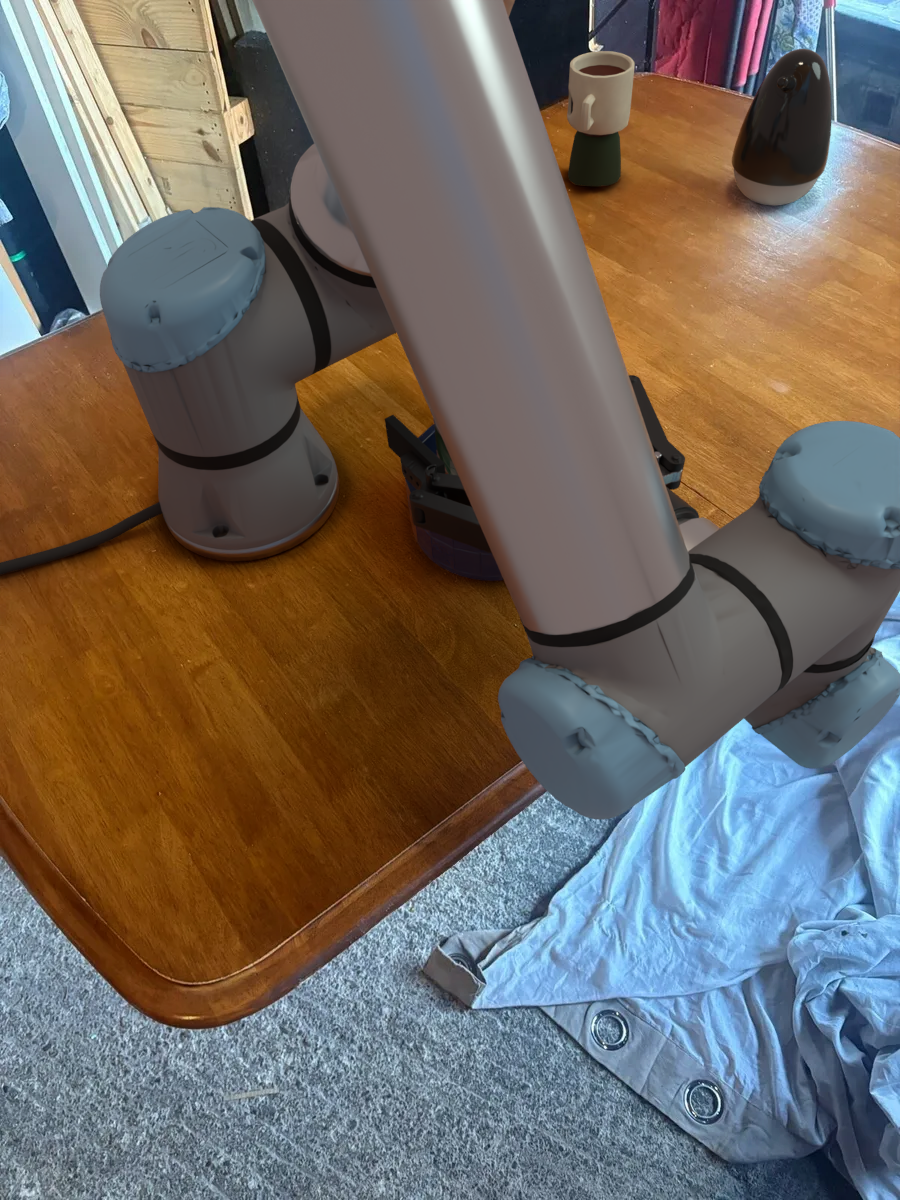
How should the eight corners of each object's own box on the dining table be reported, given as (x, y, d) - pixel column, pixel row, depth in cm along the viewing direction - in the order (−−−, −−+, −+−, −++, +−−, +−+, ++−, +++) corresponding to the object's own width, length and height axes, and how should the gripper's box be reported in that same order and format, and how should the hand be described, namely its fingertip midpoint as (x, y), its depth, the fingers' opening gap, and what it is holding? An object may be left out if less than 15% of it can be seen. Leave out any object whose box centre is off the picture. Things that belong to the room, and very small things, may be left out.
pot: (476, 609, 69) (473, 558, 64) (380, 507, 76) (371, 455, 71) (611, 527, 73) (618, 474, 68) (509, 438, 80) (508, 385, 76)
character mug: (580, 155, 112) (586, 40, 101) (635, 163, 110) (647, 47, 99) (550, 197, 106) (554, 80, 96) (608, 207, 104) (618, 88, 93)
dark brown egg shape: (710, 204, 103) (735, 60, 91) (746, 165, 108) (775, 24, 96) (795, 226, 99) (834, 80, 87) (829, 185, 104) (870, 41, 92)
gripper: (505, 694, 55) (332, 501, 67) (784, 512, 63) (588, 367, 74) (505, 622, 49) (315, 424, 61) (812, 432, 57) (594, 288, 69)
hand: (465, 392), depth 68 cm, fingers open, 13 cm apart
